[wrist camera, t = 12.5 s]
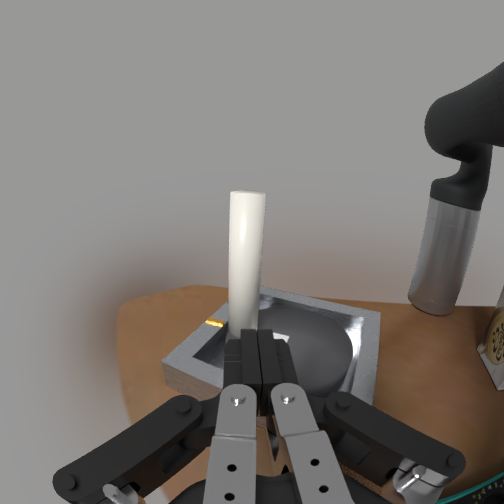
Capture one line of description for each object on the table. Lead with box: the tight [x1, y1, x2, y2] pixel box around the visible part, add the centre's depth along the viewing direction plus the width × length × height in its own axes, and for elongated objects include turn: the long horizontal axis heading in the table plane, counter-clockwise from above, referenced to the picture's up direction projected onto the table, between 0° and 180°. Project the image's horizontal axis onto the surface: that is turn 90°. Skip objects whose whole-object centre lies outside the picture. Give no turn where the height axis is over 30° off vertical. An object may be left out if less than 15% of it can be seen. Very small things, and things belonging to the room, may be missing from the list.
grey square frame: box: [161, 286, 380, 428], centre depth 27 cm, size 18×18×4 cm
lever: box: [226, 190, 353, 398], centre depth 24 cm, size 13×13×16 cm
